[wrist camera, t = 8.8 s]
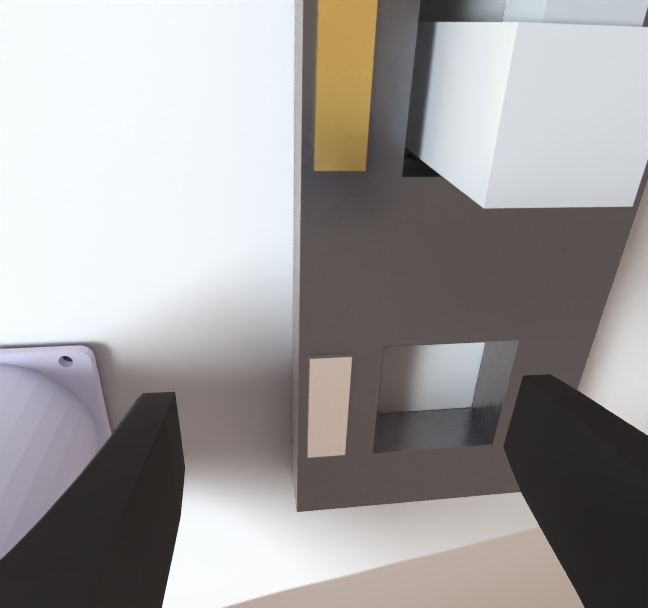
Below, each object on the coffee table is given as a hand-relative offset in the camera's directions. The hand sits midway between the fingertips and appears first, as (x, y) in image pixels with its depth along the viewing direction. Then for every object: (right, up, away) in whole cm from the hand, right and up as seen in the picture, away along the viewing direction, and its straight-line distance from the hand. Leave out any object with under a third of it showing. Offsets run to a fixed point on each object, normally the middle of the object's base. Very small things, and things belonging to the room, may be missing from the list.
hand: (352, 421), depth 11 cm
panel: (+4, +5, +10) cm, 12 cm away
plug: (+4, +10, +7) cm, 13 cm away
